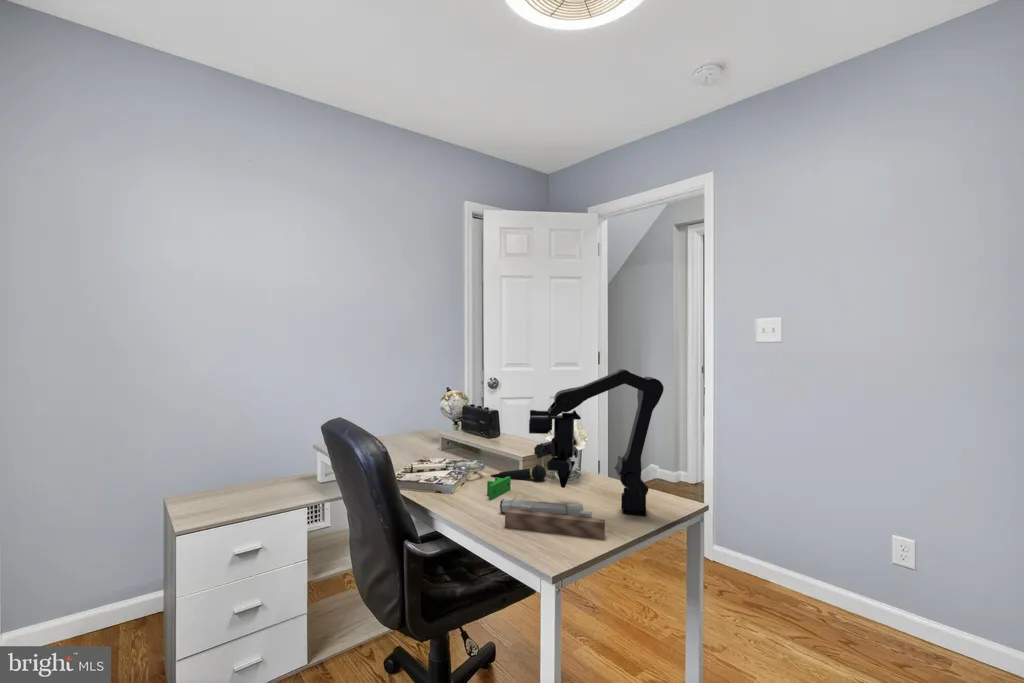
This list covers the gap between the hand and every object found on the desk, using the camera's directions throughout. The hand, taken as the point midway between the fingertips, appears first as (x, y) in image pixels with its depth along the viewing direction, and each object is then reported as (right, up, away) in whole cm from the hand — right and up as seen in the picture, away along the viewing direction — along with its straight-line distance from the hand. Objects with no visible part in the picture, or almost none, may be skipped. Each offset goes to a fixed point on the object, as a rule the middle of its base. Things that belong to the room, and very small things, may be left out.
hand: (563, 487), depth 141 cm
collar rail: (-4, -7, -15) cm, 17 cm away
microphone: (-12, -7, +31) cm, 34 cm away
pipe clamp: (-20, -7, +14) cm, 25 cm away
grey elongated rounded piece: (-6, -7, -7) cm, 12 cm away
